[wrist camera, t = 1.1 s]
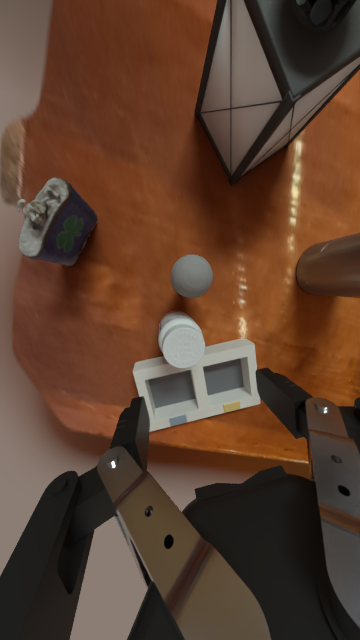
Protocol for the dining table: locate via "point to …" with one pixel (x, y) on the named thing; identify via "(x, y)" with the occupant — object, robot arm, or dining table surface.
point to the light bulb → (191, 276)
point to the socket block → (199, 384)
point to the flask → (56, 224)
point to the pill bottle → (180, 339)
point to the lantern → (273, 73)
